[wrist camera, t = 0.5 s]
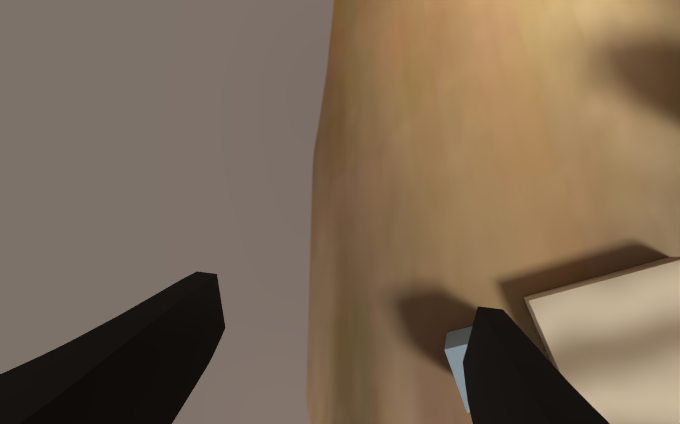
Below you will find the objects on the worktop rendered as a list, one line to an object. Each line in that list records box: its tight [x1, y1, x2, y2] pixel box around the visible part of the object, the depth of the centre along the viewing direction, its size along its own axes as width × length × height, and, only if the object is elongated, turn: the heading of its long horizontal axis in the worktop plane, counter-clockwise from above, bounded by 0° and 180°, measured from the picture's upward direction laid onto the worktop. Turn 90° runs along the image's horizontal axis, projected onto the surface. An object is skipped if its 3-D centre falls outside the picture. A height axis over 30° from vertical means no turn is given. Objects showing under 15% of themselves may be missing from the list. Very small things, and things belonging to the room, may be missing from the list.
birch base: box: [523, 257, 680, 424], centre depth 25 cm, size 11×11×2 cm
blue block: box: [444, 326, 473, 413], centre depth 26 cm, size 4×4×6 cm
